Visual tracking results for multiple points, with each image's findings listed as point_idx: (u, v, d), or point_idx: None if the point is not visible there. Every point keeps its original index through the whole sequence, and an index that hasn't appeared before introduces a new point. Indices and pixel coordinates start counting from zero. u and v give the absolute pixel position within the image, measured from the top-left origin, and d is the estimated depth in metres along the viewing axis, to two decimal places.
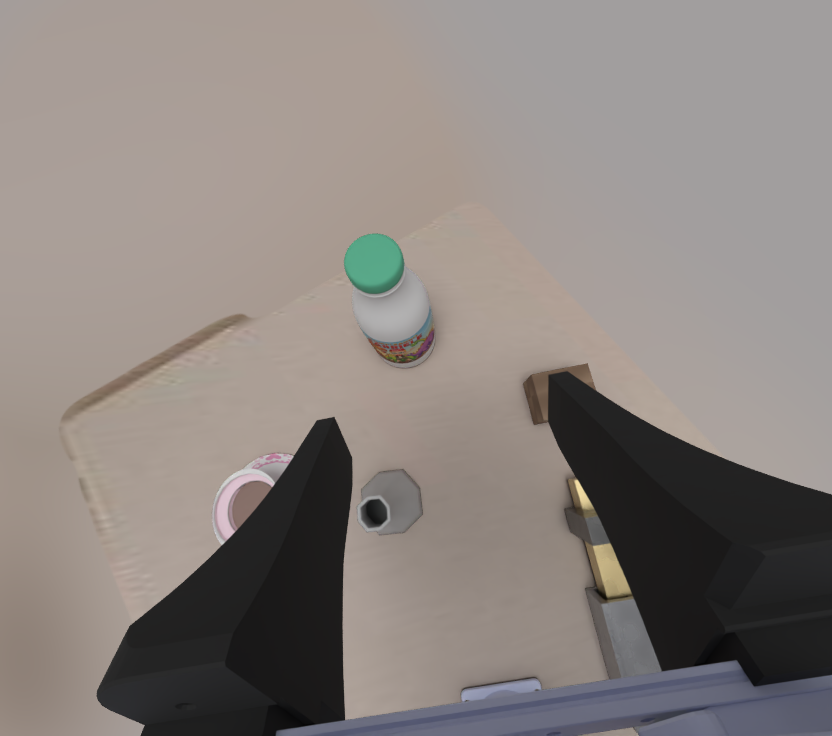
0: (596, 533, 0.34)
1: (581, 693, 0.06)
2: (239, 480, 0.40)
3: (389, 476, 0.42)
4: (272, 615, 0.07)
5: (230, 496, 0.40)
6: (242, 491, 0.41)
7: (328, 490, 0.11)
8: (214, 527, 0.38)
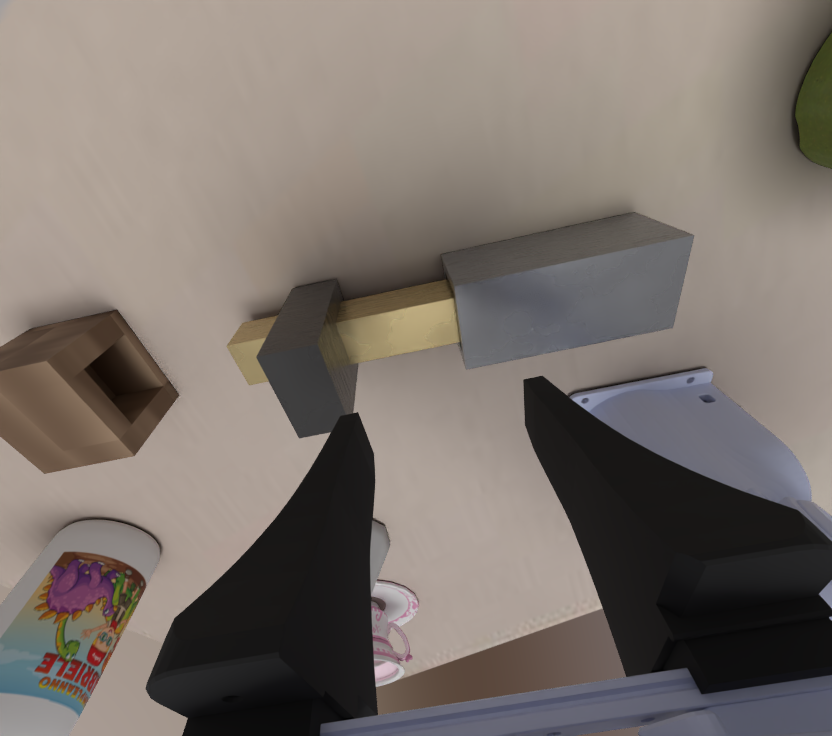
0: (325, 423, 0.16)
1: (581, 693, 0.06)
2: None
3: None
4: (315, 608, 0.07)
5: None
6: None
7: (355, 485, 0.10)
8: (380, 684, 0.38)
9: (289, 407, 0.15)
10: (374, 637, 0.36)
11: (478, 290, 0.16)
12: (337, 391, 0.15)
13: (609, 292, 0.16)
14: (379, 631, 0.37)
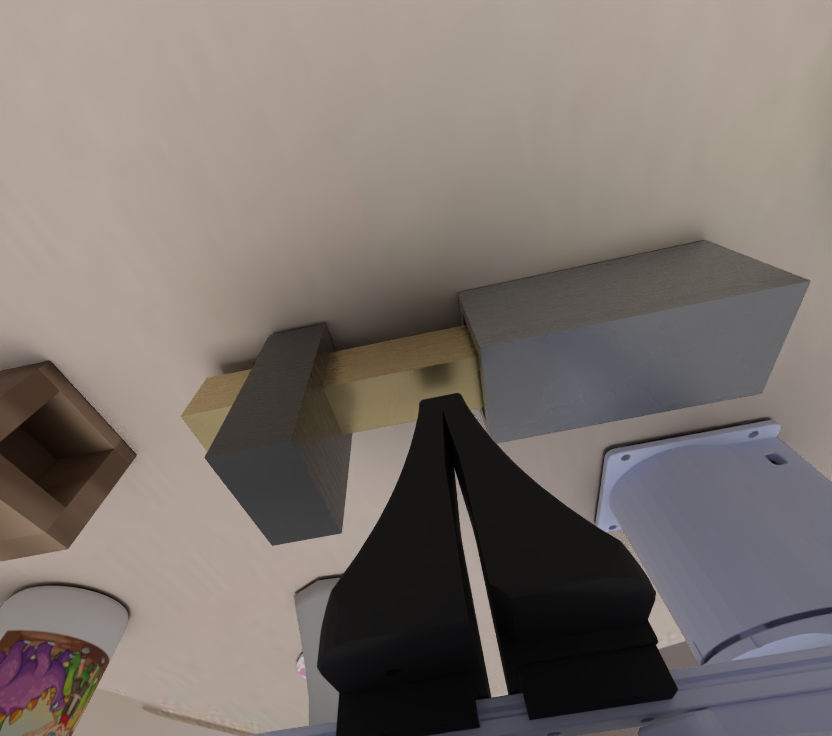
0: (306, 528, 0.12)
1: None
2: None
3: None
4: (464, 582, 0.06)
5: None
6: None
7: (449, 467, 0.10)
8: None
9: (255, 512, 0.11)
10: None
11: (512, 351, 0.12)
12: (321, 492, 0.11)
13: (686, 353, 0.12)
14: None
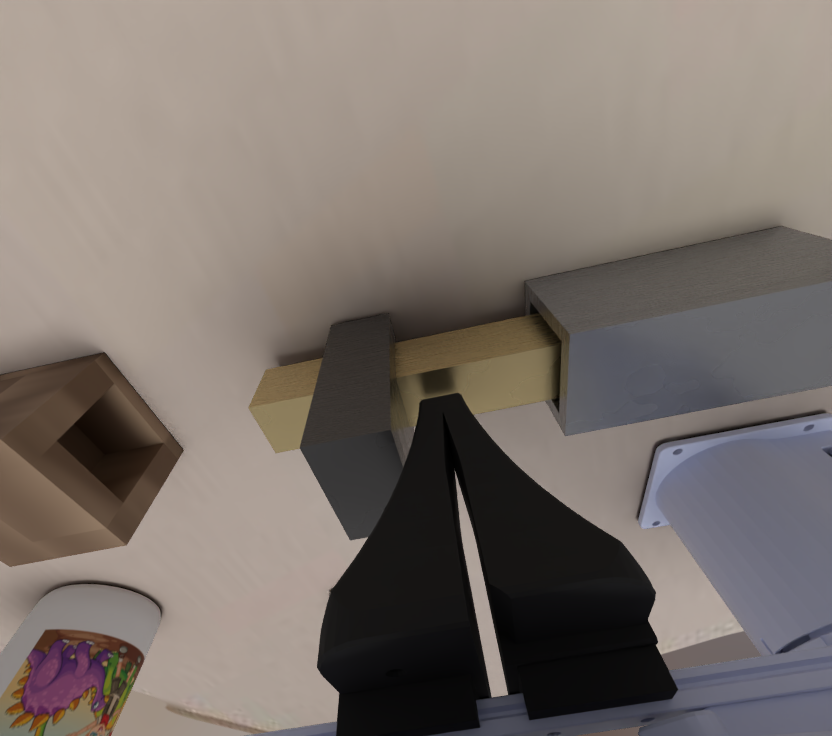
0: None
1: None
2: None
3: None
4: (464, 582, 0.06)
5: None
6: None
7: (449, 467, 0.10)
8: None
9: (340, 505, 0.11)
10: None
11: (602, 339, 0.11)
12: None
13: (778, 340, 0.12)
14: None
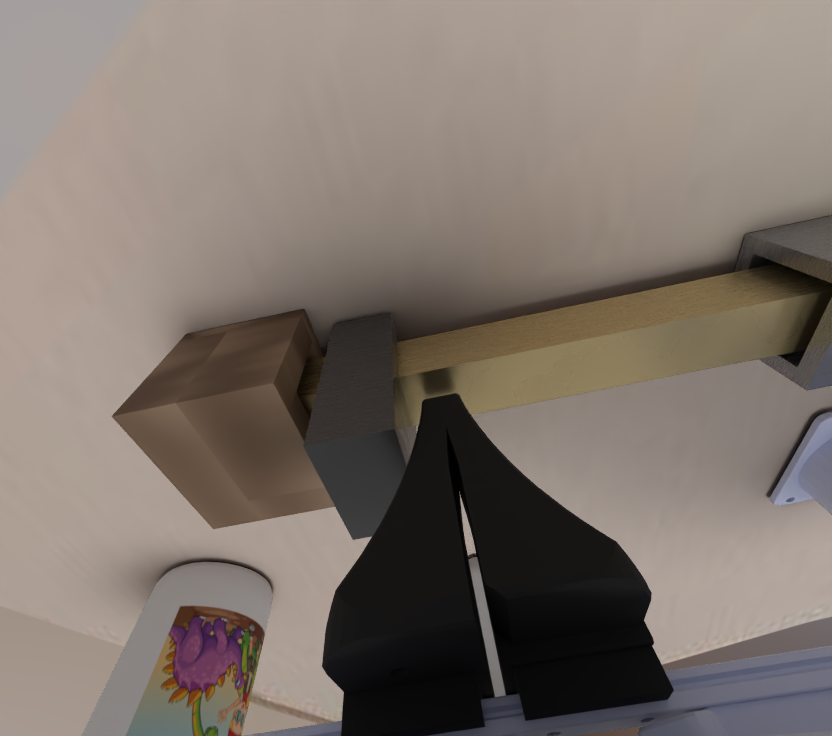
0: None
1: None
2: None
3: None
4: (469, 582, 0.06)
5: None
6: None
7: (452, 467, 0.10)
8: None
9: (343, 505, 0.11)
10: None
11: None
12: None
13: None
14: None
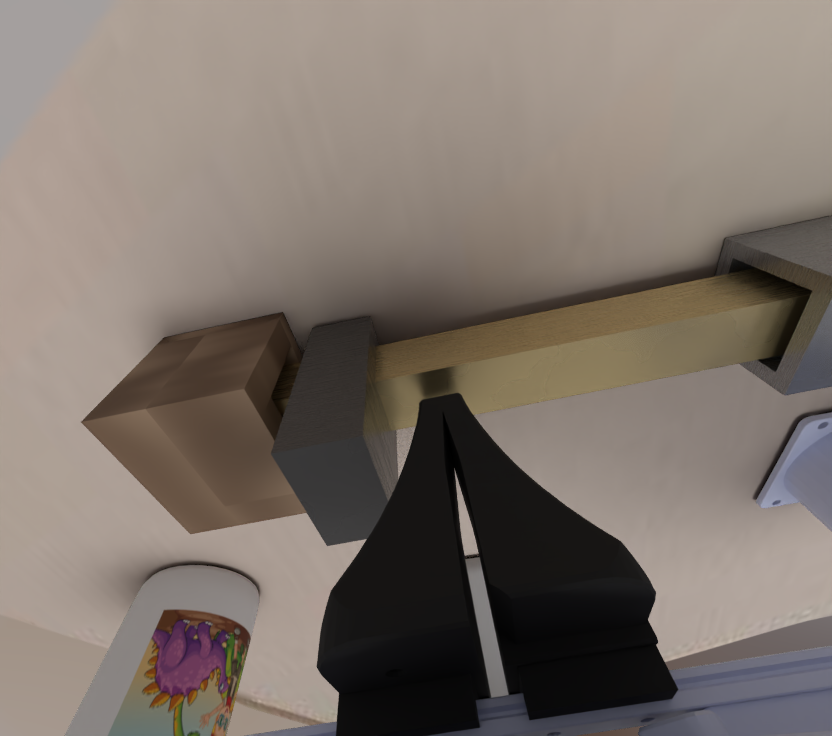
0: (365, 528, 0.11)
1: None
2: None
3: None
4: (464, 582, 0.06)
5: None
6: None
7: (449, 467, 0.10)
8: None
9: (315, 512, 0.11)
10: None
11: None
12: (385, 490, 0.11)
13: None
14: None
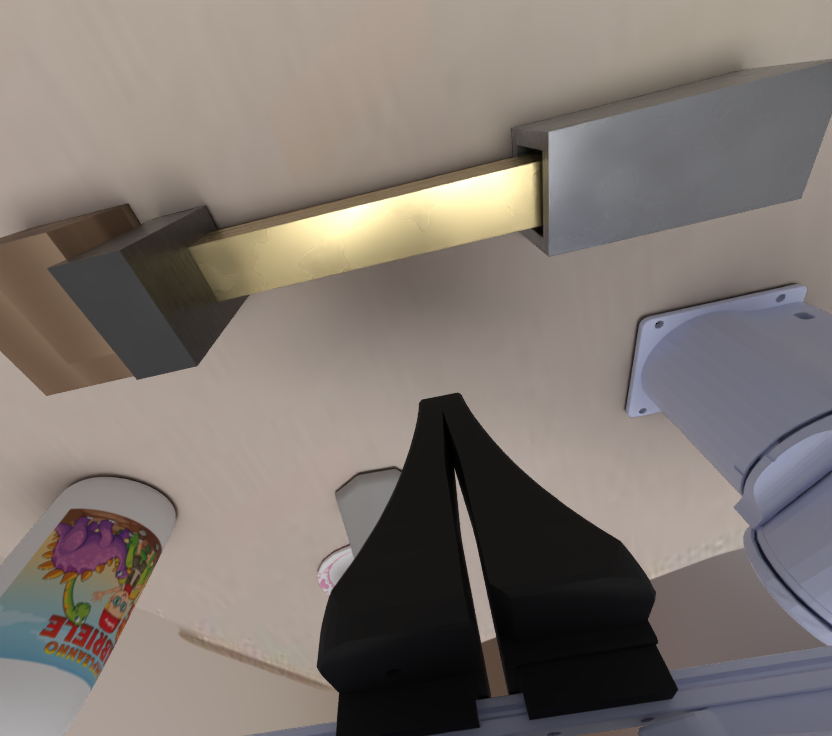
0: (163, 359, 0.14)
1: None
2: None
3: None
4: (464, 582, 0.06)
5: None
6: None
7: (449, 467, 0.10)
8: None
9: (111, 338, 0.13)
10: None
11: (577, 138, 0.13)
12: (166, 316, 0.13)
13: (735, 144, 0.13)
14: None
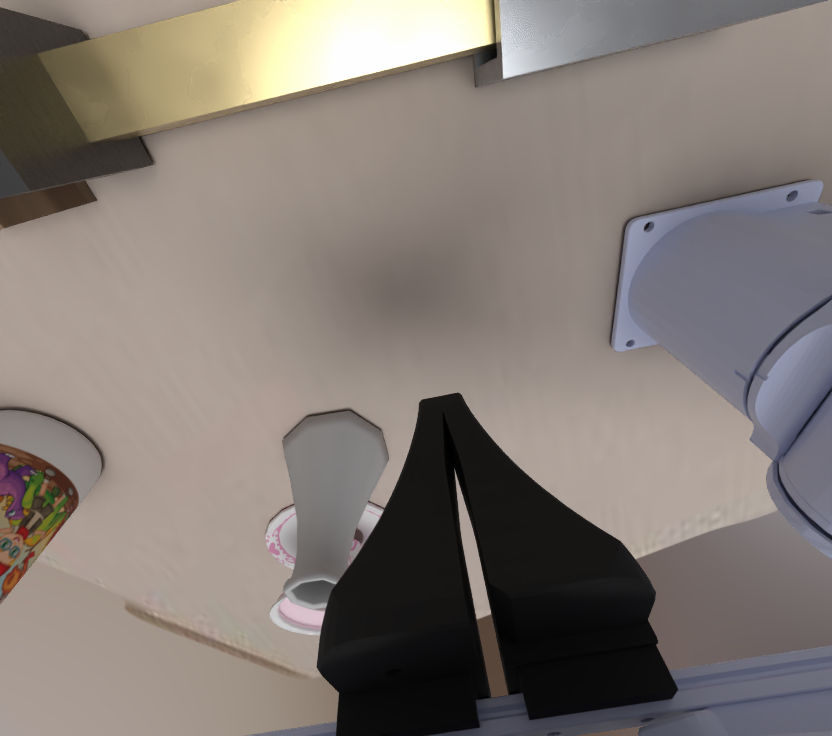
0: None
1: None
2: (293, 613, 0.30)
3: None
4: (464, 582, 0.06)
5: (317, 612, 0.31)
6: None
7: (449, 467, 0.10)
8: None
9: None
10: None
11: None
12: None
13: None
14: None
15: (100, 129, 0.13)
